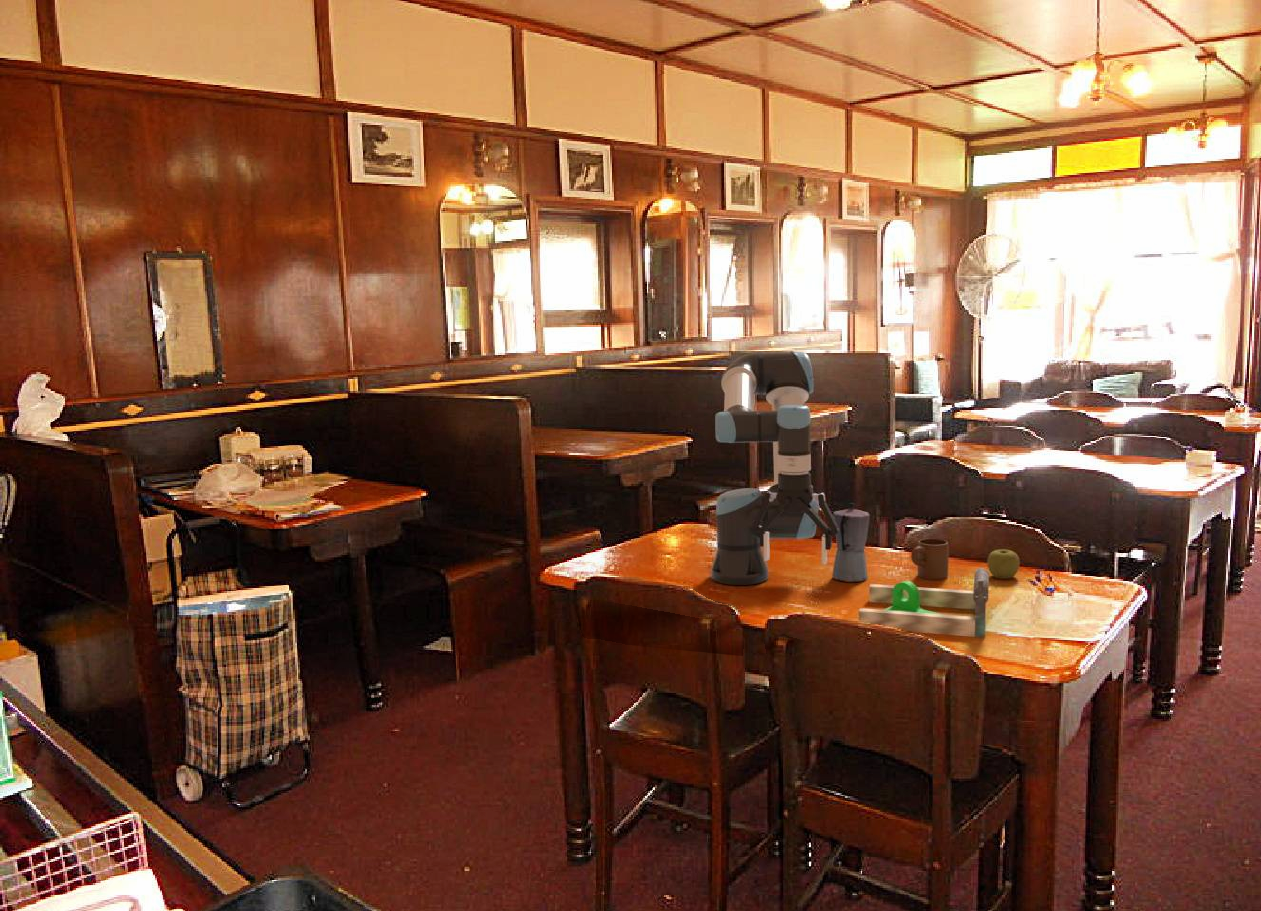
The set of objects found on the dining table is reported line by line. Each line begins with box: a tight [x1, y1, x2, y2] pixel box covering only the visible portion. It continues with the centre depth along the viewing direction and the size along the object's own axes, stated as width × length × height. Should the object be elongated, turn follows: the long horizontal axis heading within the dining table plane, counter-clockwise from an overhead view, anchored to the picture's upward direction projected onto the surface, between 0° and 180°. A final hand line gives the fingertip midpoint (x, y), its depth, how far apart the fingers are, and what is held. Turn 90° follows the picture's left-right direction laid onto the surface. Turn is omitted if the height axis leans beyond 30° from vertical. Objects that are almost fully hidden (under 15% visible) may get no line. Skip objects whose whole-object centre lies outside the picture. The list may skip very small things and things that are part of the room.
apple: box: [986, 548, 1021, 580], centre depth 238 cm, size 8×8×7 cm
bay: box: [858, 567, 990, 638], centre depth 209 cm, size 26×22×13 cm
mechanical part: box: [883, 580, 945, 615], centre depth 209 cm, size 12×6×8 cm, turn 42°
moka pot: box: [832, 502, 871, 583], centre depth 241 cm, size 10×15×20 cm, turn 155°
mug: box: [910, 538, 950, 581], centre depth 240 cm, size 12×8×9 cm, turn 125°
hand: (795, 561), depth 219 cm, fingers open, 13 cm apart
